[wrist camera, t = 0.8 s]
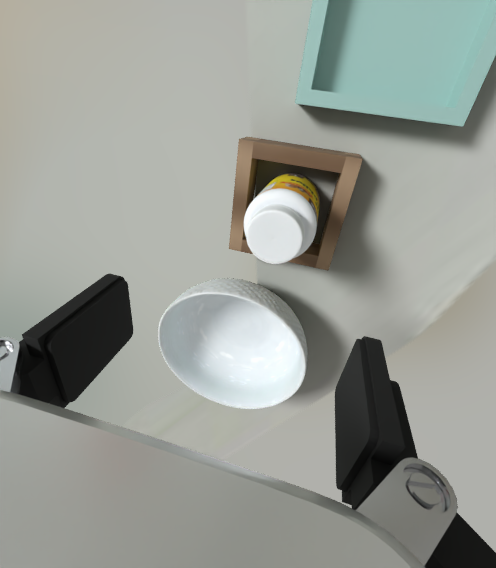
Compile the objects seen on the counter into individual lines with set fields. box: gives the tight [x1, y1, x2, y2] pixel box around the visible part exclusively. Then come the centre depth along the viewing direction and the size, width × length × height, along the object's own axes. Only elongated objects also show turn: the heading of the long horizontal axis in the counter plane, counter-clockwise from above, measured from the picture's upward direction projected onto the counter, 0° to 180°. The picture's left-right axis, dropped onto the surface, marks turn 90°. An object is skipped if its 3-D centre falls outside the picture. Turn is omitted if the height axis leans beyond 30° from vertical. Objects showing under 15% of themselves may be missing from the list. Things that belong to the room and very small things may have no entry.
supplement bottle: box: [244, 173, 320, 264], centre depth 24 cm, size 6×6×10 cm
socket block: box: [229, 137, 363, 270], centre depth 27 cm, size 10×10×3 cm
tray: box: [295, 0, 496, 126], centre depth 19 cm, size 12×12×2 cm
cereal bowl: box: [158, 278, 308, 409], centre depth 34 cm, size 17×17×7 cm
